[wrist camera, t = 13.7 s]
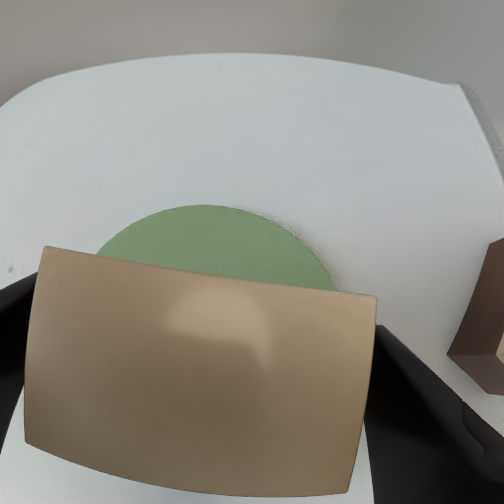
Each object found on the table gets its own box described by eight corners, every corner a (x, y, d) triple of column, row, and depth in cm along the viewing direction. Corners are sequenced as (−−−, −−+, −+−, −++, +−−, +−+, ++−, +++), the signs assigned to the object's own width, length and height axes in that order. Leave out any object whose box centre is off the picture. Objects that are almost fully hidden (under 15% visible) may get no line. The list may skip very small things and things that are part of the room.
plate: (287, 502, 14) (291, 510, 13) (43, 409, 13) (35, 413, 12) (372, 268, 18) (380, 265, 17) (135, 176, 17) (131, 168, 16)
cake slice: (265, 399, 14) (348, 494, 4) (134, 380, 14) (24, 443, 4) (275, 319, 15) (378, 296, 6) (145, 299, 15) (42, 244, 5)
